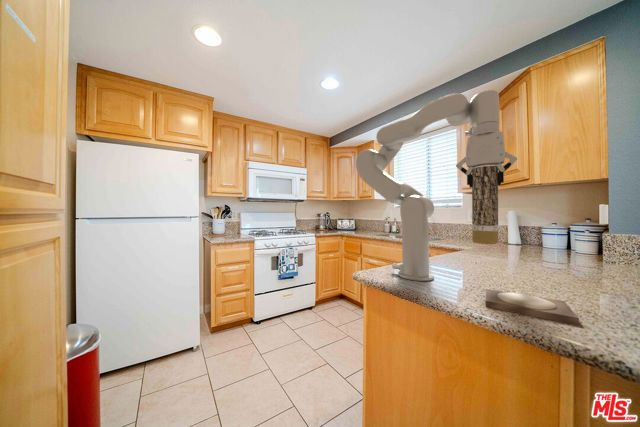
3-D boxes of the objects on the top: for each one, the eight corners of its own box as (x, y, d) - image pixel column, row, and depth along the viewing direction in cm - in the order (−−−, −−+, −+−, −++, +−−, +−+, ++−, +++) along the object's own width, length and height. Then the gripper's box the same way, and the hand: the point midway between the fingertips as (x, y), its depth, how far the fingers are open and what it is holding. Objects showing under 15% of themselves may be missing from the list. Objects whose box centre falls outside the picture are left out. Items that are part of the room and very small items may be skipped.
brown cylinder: (489, 242, 75) (488, 168, 75) (503, 244, 68) (503, 164, 68) (467, 241, 75) (467, 169, 76) (480, 244, 69) (480, 164, 69)
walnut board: (485, 306, 57) (485, 299, 57) (486, 293, 66) (486, 287, 67) (579, 325, 47) (578, 316, 47) (564, 307, 57) (564, 300, 57)
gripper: (452, 134, 75) (452, 187, 74) (521, 121, 64) (521, 182, 64) (455, 140, 80) (455, 189, 80) (518, 129, 70) (519, 185, 70)
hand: (484, 185), depth 72 cm, fingers closed on brown cylinder, 6 cm apart
